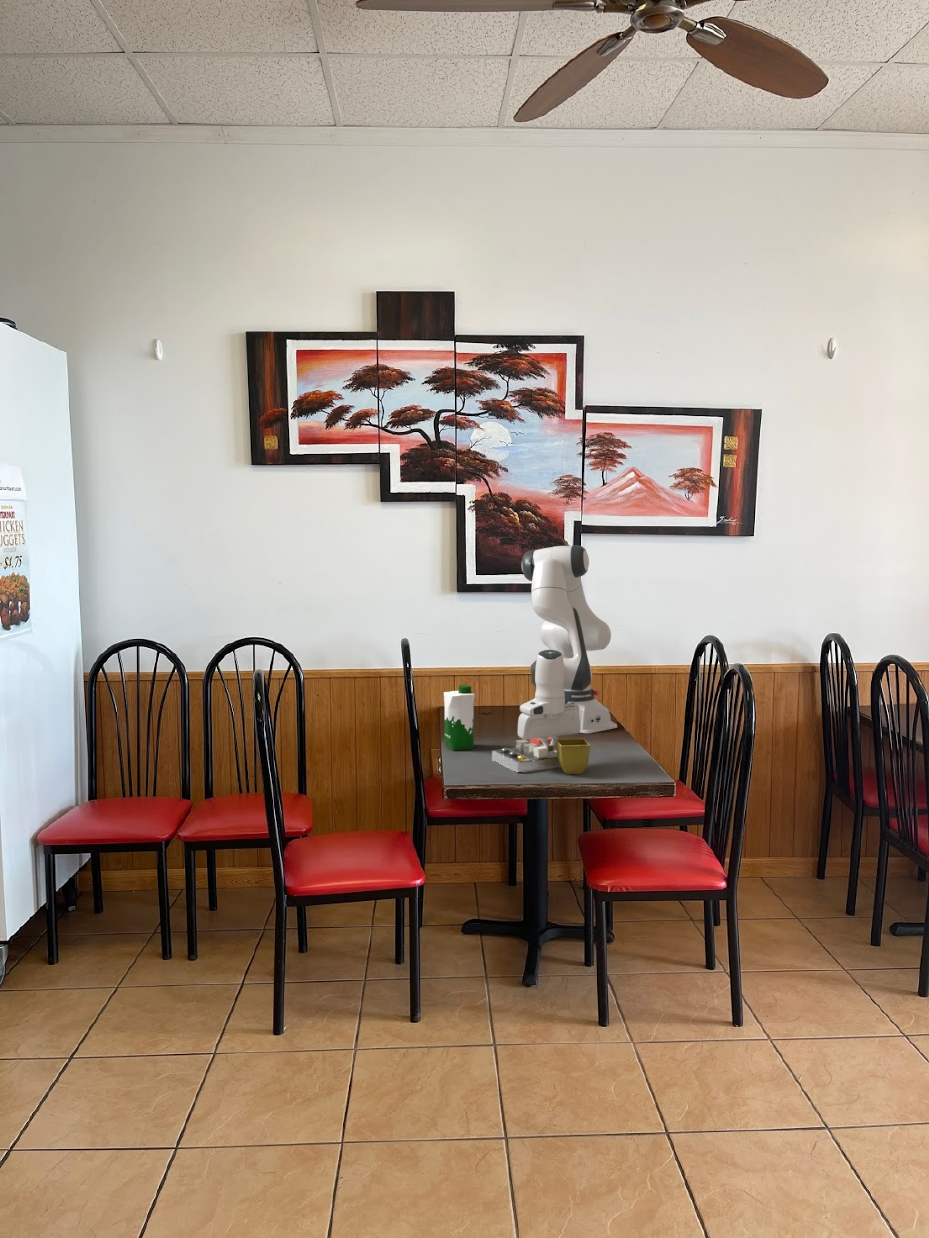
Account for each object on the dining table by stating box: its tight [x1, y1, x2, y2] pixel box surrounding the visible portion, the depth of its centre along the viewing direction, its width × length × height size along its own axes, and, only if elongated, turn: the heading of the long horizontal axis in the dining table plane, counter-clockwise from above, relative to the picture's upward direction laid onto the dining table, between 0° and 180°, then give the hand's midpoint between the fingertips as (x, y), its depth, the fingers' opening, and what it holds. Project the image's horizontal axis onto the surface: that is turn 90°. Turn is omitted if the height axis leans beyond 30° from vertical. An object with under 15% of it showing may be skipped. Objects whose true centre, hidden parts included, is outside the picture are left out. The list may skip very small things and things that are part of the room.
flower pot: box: [556, 738, 591, 775], centre depth 266 cm, size 9×9×9 cm
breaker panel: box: [491, 739, 561, 773], centre depth 276 cm, size 18×16×6 cm
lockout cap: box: [529, 737, 556, 750], centre depth 293 cm, size 6×6×4 cm
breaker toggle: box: [534, 746, 548, 758], centre depth 271 cm, size 3×3×2 cm
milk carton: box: [443, 684, 476, 752], centre depth 294 cm, size 9×9×20 cm
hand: (549, 750), depth 272 cm, fingers closed
